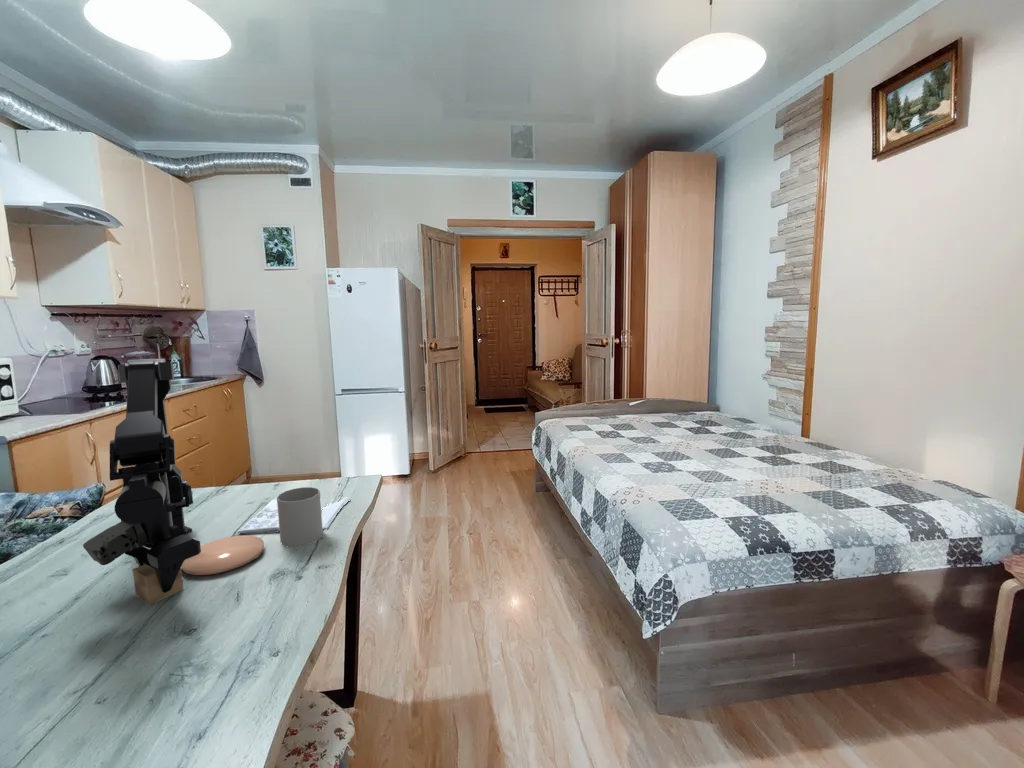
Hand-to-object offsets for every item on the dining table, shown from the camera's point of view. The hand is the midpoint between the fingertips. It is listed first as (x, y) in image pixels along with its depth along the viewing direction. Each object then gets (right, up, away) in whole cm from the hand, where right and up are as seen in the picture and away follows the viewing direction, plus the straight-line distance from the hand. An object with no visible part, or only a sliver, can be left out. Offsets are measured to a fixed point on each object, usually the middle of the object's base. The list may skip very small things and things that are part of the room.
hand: (159, 587), depth 78 cm
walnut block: (0, -1, 0) cm, 1 cm away
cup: (+16, +2, +20) cm, 25 cm away
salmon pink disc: (+4, +1, +12) cm, 12 cm away
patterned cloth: (+10, +2, +32) cm, 33 cm away
